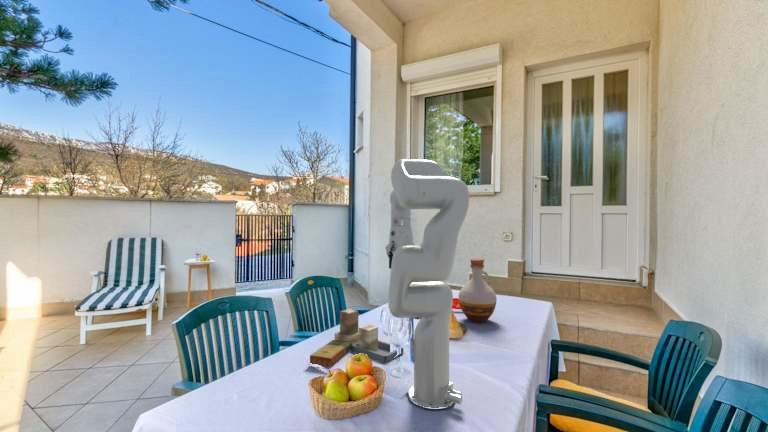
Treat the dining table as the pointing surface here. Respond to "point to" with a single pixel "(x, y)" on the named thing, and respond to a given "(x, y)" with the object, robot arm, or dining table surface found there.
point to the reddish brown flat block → (331, 353)
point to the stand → (347, 337)
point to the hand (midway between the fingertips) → (400, 267)
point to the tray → (377, 351)
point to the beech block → (368, 337)
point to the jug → (477, 294)
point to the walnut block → (349, 321)
